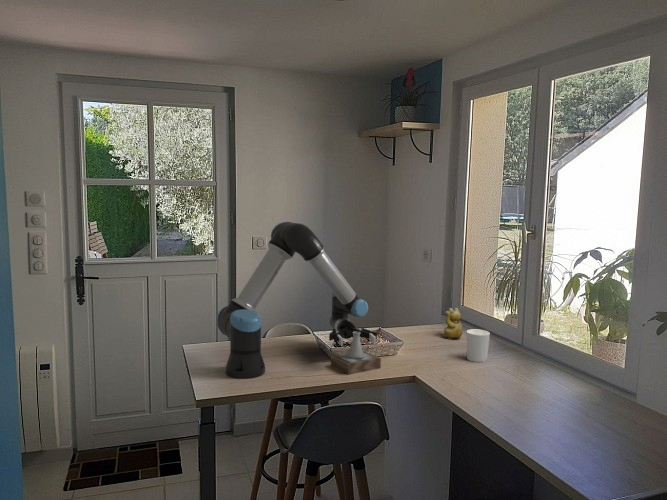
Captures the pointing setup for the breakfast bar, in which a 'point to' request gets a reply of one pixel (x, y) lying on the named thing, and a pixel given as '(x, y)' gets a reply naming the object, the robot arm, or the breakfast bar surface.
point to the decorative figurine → (453, 324)
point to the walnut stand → (355, 363)
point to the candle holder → (477, 345)
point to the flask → (356, 347)
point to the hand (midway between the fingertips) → (358, 341)
